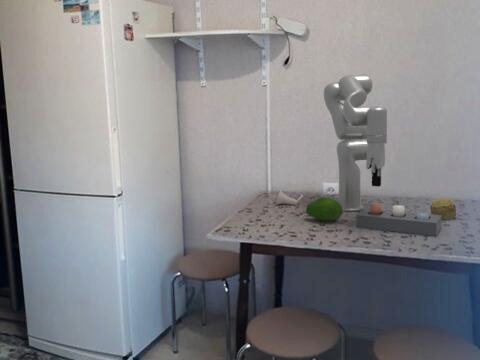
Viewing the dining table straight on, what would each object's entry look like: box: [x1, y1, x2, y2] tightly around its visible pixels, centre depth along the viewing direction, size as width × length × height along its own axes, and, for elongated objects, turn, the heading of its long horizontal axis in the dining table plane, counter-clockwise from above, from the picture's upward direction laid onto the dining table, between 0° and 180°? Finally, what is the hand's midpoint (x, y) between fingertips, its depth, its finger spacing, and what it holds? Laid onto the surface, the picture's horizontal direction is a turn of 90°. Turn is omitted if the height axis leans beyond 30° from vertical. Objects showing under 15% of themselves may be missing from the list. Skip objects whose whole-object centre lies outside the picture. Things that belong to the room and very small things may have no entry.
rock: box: [429, 197, 457, 221], centre depth 204 cm, size 10×11×10 cm
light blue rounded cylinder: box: [416, 212, 430, 220], centre depth 187 cm, size 4×4×5 cm
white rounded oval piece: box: [392, 204, 406, 217], centre depth 191 cm, size 4×4×5 cm
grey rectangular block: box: [355, 207, 443, 237], centre depth 192 cm, size 30×12×5 cm, turn 59°
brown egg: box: [369, 202, 382, 215], centre depth 196 cm, size 4×4×5 cm
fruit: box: [305, 197, 344, 222], centre depth 205 cm, size 15×10×10 cm, turn 65°
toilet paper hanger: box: [275, 190, 304, 206], centre depth 243 cm, size 23×10×8 cm, turn 165°
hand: (376, 185), depth 194 cm, fingers closed
